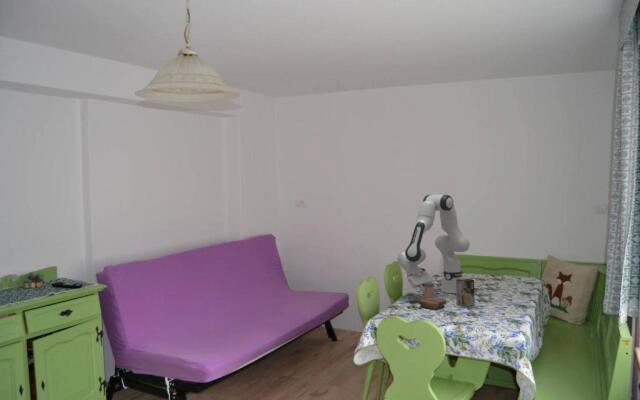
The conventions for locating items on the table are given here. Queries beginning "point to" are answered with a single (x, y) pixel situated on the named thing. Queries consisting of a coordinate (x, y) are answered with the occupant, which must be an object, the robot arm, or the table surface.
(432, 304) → the walnut stand
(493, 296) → the table surface
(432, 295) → the housing
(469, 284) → the coffee box
